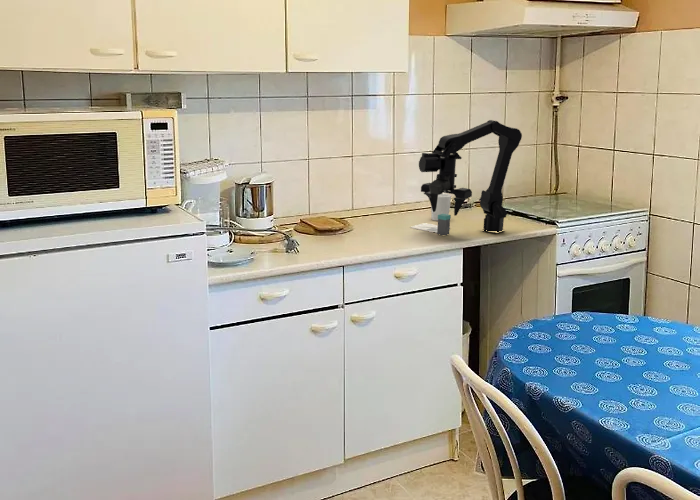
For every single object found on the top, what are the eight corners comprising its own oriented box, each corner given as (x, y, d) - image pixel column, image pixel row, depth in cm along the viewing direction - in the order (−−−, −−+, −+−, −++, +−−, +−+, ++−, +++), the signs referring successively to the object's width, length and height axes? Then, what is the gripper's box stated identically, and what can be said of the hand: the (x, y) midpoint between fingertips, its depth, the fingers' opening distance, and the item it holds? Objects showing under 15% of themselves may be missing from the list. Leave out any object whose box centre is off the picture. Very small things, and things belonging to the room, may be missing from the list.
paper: (450, 228, 293) (450, 227, 293) (436, 233, 285) (436, 232, 285) (424, 223, 300) (424, 222, 300) (409, 227, 293) (409, 226, 293)
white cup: (450, 222, 305) (452, 197, 302) (430, 221, 305) (432, 196, 302) (448, 217, 312) (450, 193, 310) (429, 217, 312) (430, 192, 310)
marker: (449, 234, 284) (450, 215, 282) (444, 236, 281) (445, 216, 279) (441, 233, 286) (442, 213, 284) (436, 234, 283) (437, 214, 282)
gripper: (413, 170, 277) (411, 212, 281) (457, 177, 266) (454, 221, 270) (430, 167, 286) (428, 208, 290) (474, 173, 274) (471, 216, 278)
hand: (444, 213), depth 282 cm, fingers open, 9 cm apart
